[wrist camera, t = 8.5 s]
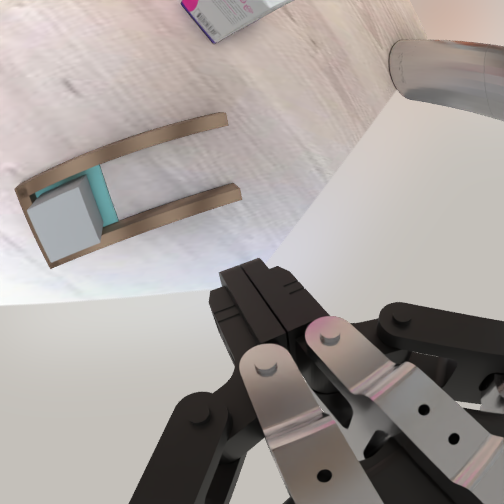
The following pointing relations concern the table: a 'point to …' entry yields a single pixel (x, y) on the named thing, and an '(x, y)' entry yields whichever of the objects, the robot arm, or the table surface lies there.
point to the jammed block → (67, 219)
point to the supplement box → (228, 14)
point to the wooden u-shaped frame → (91, 167)
